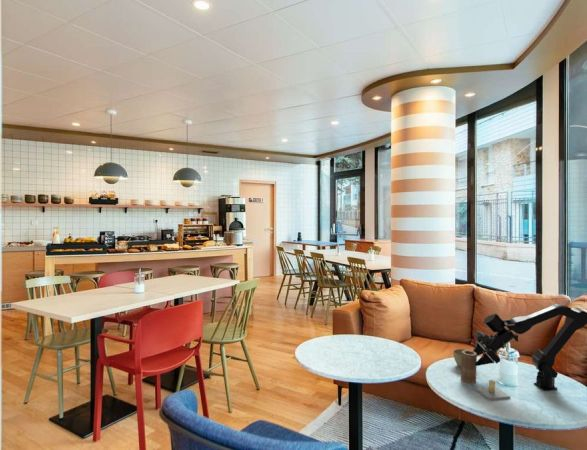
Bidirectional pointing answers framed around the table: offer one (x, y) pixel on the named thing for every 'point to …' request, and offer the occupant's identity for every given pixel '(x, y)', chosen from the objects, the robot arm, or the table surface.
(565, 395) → the table surface
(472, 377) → the brown faceted vase
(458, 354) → the flower pot
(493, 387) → the post stand
